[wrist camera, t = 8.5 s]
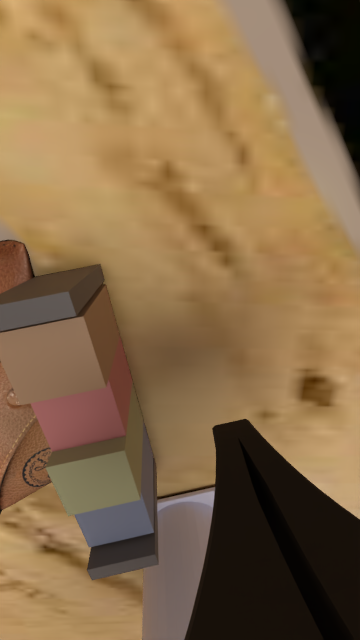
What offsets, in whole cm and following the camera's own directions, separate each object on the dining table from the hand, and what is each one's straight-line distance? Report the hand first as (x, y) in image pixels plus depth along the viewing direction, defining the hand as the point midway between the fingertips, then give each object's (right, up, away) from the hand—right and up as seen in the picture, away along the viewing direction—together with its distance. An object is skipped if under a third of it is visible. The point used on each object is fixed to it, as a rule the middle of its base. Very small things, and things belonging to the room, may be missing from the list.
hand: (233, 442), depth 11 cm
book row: (-7, 0, +9) cm, 12 cm away
